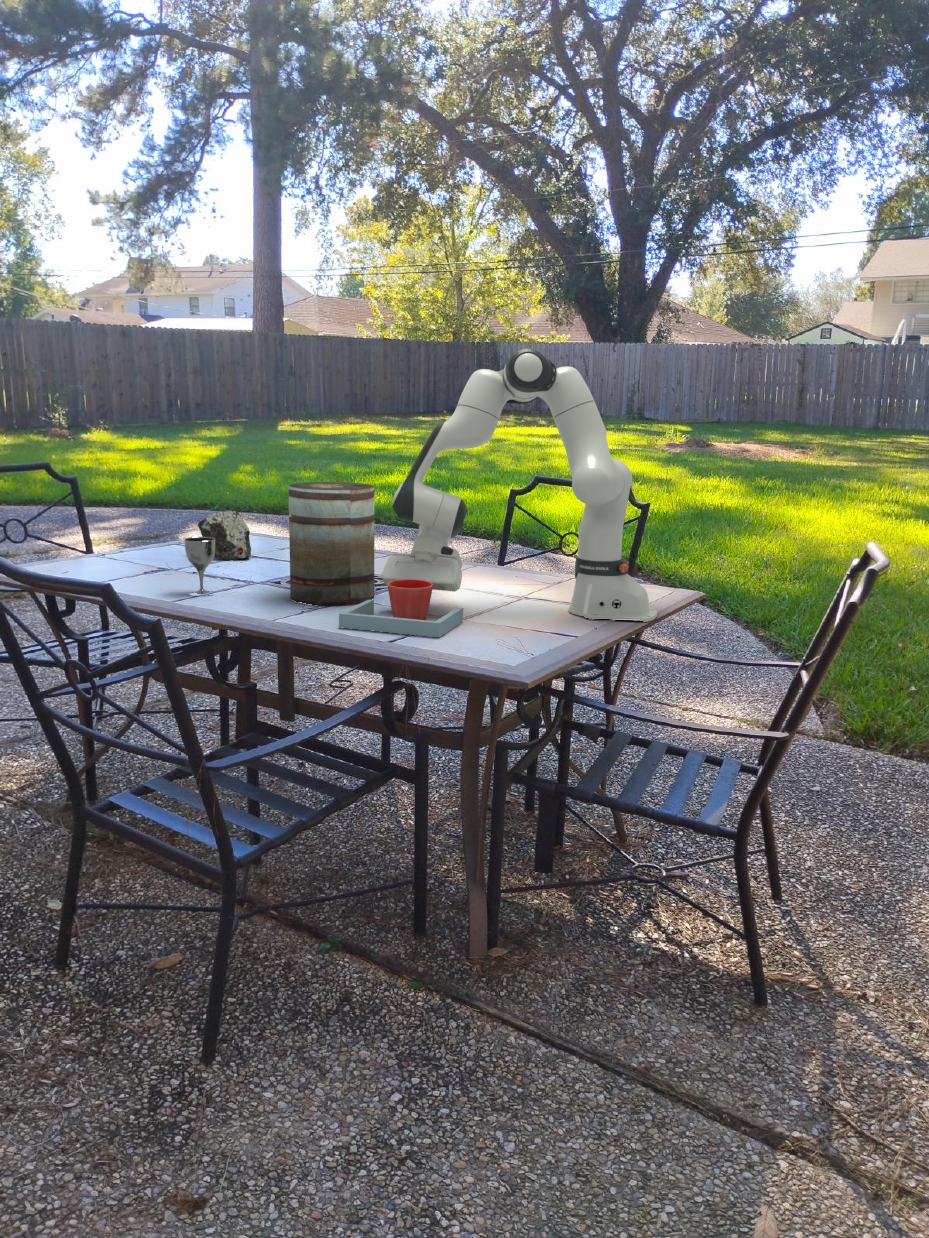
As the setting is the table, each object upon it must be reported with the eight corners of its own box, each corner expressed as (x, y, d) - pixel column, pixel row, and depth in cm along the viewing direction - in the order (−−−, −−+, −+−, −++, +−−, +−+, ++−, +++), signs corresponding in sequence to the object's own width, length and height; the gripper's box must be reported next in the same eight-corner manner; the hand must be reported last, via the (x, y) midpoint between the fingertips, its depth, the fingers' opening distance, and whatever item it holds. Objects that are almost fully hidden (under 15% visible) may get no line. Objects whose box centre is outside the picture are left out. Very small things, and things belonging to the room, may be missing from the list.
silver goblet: (203, 589, 276) (201, 535, 272) (223, 593, 271) (221, 538, 268) (180, 594, 269) (178, 539, 266) (200, 598, 265) (197, 542, 261)
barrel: (352, 586, 285) (351, 480, 278) (389, 601, 266) (389, 488, 259) (277, 593, 273) (275, 483, 266) (310, 609, 254) (309, 491, 248)
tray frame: (462, 622, 244) (463, 608, 243) (439, 638, 228) (439, 623, 227) (368, 613, 252) (368, 599, 251) (338, 628, 235) (338, 613, 234)
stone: (190, 568, 323) (189, 528, 314) (202, 540, 338) (202, 501, 329) (248, 575, 324) (249, 535, 316) (257, 546, 339) (258, 508, 331)
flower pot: (413, 630, 235) (414, 589, 233) (378, 623, 241) (378, 583, 239) (441, 622, 243) (441, 583, 241) (406, 615, 250) (406, 577, 247)
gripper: (386, 545, 254) (371, 590, 247) (463, 550, 248) (449, 597, 241) (393, 559, 259) (378, 604, 252) (468, 565, 253) (455, 611, 246)
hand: (414, 600), depth 246 cm, fingers closed
